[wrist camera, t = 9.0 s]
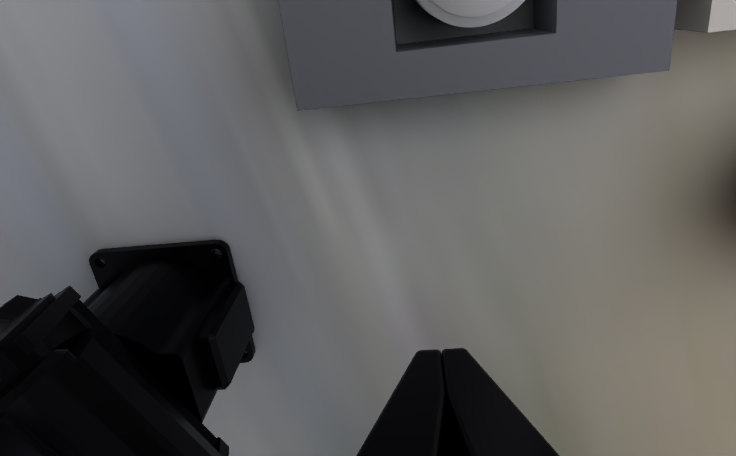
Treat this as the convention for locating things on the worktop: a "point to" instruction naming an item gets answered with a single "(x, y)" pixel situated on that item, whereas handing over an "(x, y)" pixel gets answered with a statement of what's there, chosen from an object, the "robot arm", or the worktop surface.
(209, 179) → the worktop surface
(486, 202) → the worktop surface
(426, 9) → the button
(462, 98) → the worktop surface
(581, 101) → the worktop surface
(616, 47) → the board
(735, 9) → the tile
